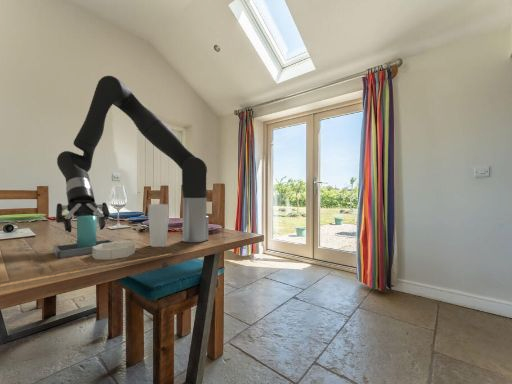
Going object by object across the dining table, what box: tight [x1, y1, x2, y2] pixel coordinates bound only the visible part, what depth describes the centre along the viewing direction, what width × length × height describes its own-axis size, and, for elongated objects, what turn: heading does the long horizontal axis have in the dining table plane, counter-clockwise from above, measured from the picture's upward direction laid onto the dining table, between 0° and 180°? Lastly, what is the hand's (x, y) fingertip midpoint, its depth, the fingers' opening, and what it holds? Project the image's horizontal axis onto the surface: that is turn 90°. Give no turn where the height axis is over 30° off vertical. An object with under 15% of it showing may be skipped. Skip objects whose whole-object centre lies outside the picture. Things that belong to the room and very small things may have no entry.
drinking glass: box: [147, 203, 170, 248], centre depth 86 cm, size 7×7×15 cm
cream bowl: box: [91, 241, 136, 260], centre depth 73 cm, size 10×10×3 cm
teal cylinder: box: [76, 215, 98, 249], centre depth 77 cm, size 5×5×11 cm
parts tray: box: [53, 239, 115, 259], centre depth 77 cm, size 15×9×2 cm, turn 135°
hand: (86, 229), depth 77 cm, fingers open, 8 cm apart
